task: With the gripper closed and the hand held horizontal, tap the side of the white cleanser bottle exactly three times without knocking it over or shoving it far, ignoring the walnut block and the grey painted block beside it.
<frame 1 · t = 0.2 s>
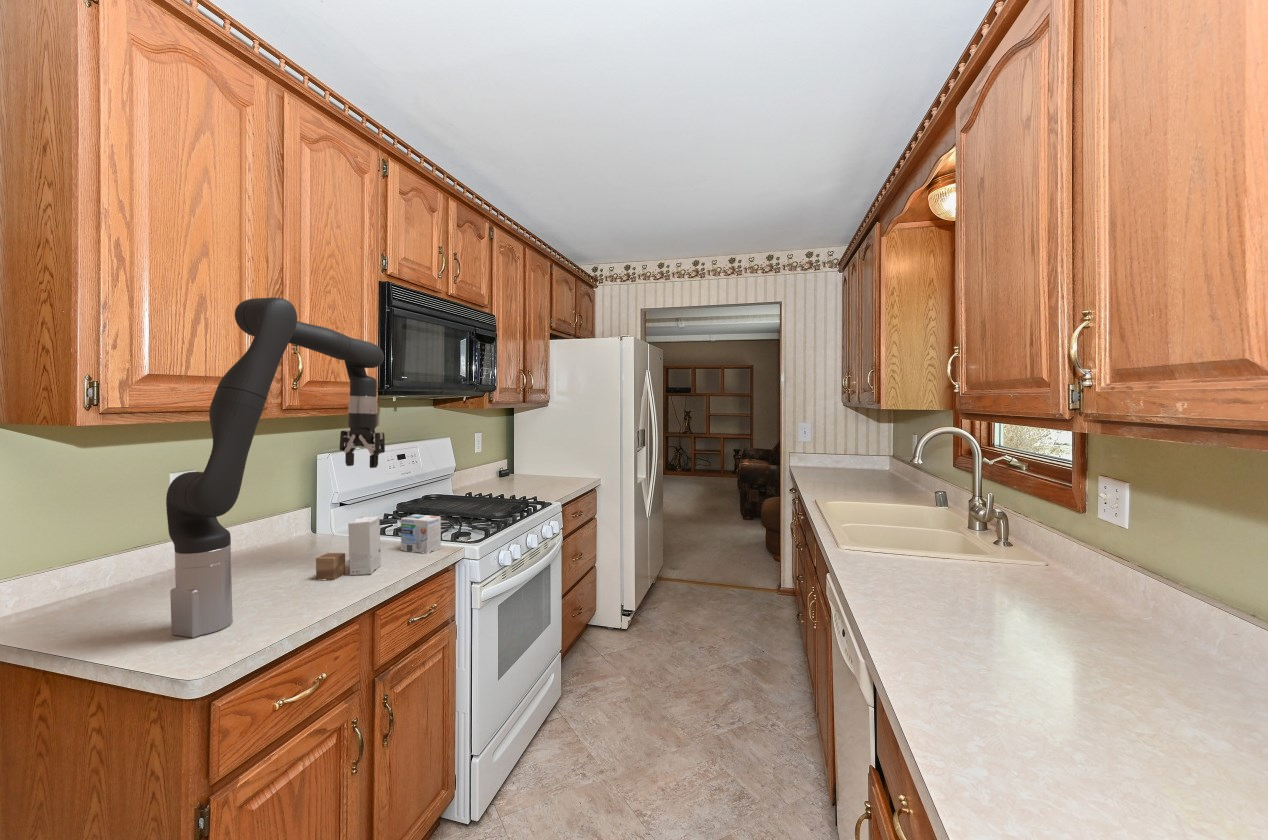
hand: (361, 466, 154), 29 cm above the counter, tool pointing down, fingers open, 8 cm apart
skincare box: (365, 571, 149), on the counter
grey painted block: (364, 561, 157), on the counter
light bulb box: (421, 550, 170), on the counter
walnut block: (331, 577, 143), on the counter
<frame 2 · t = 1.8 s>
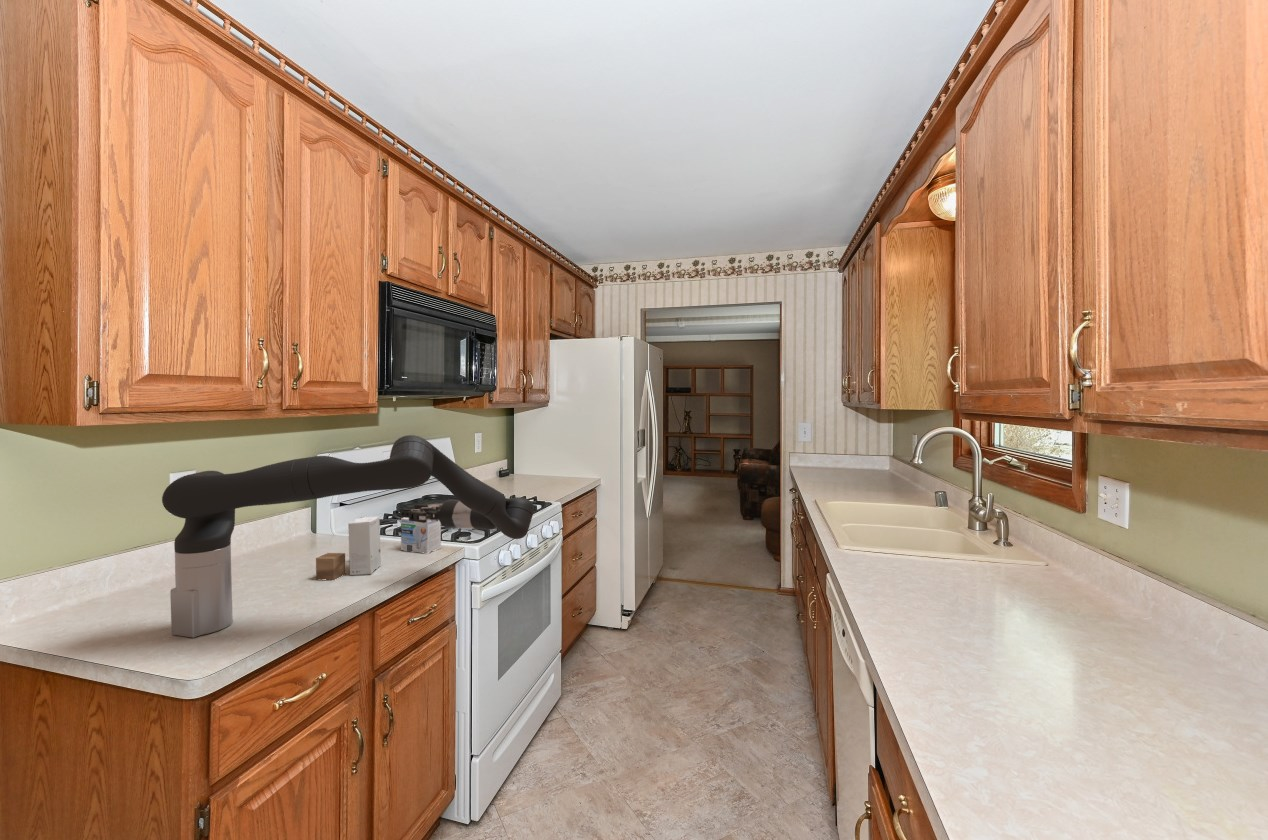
hand: (408, 510, 145), 18 cm above the counter, tool horizontal, fingers open, 5 cm apart
nothing on the counter moved.
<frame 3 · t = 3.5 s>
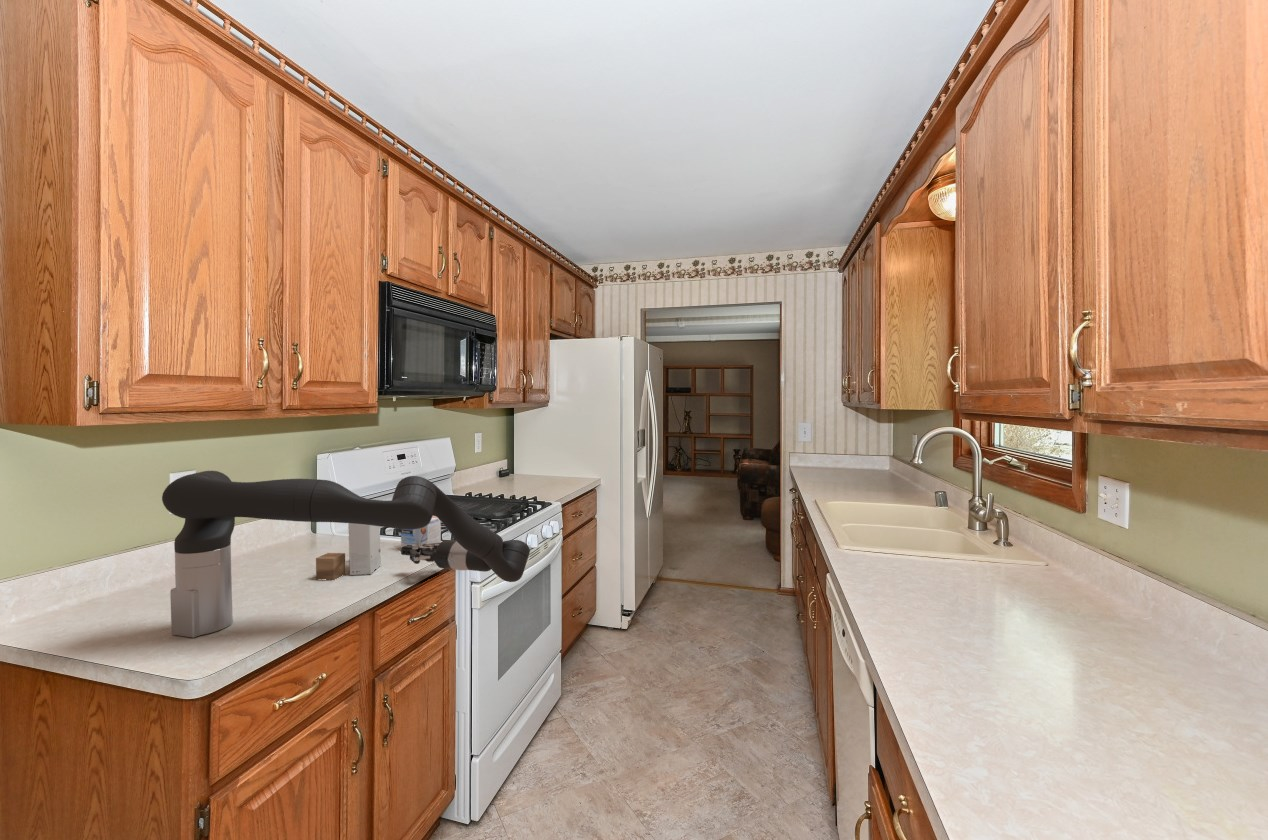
hand: (402, 550, 145), 7 cm above the counter, tool horizontal, fingers closed
nothing on the counter moved.
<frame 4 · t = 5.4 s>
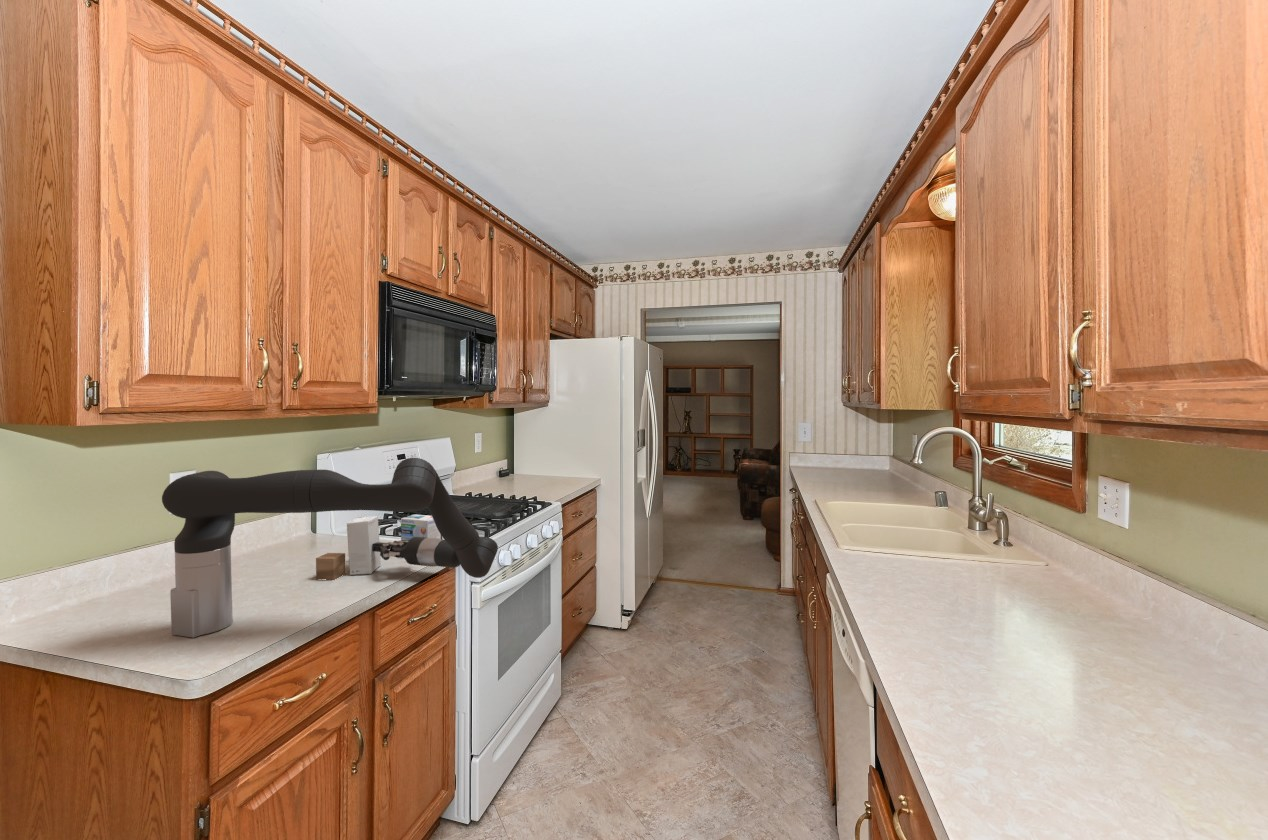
hand: (374, 546, 148), 7 cm above the counter, tool horizontal, fingers closed
skincare box: (365, 570, 149), on the counter, touching gripper
everything else where it was.
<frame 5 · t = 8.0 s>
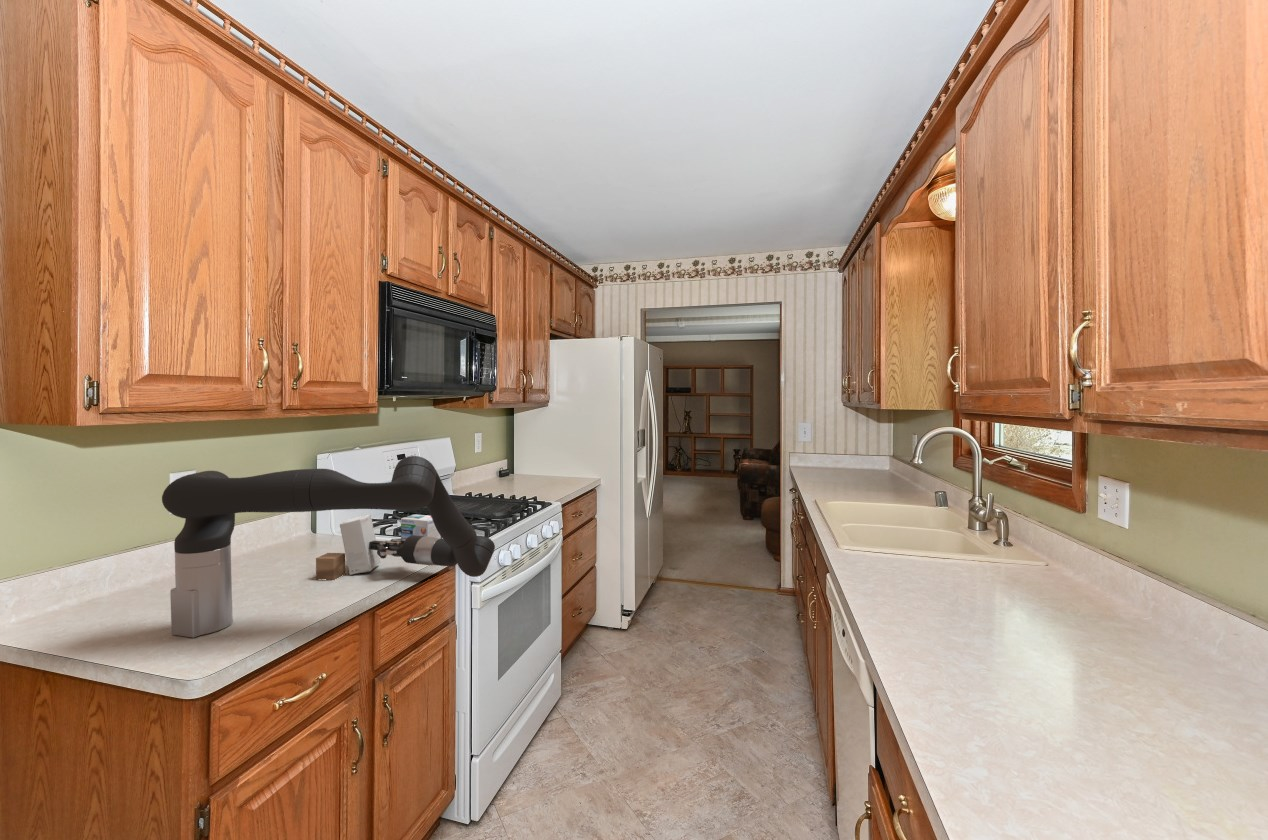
hand: (371, 544, 148), 8 cm above the counter, tool horizontal, fingers closed
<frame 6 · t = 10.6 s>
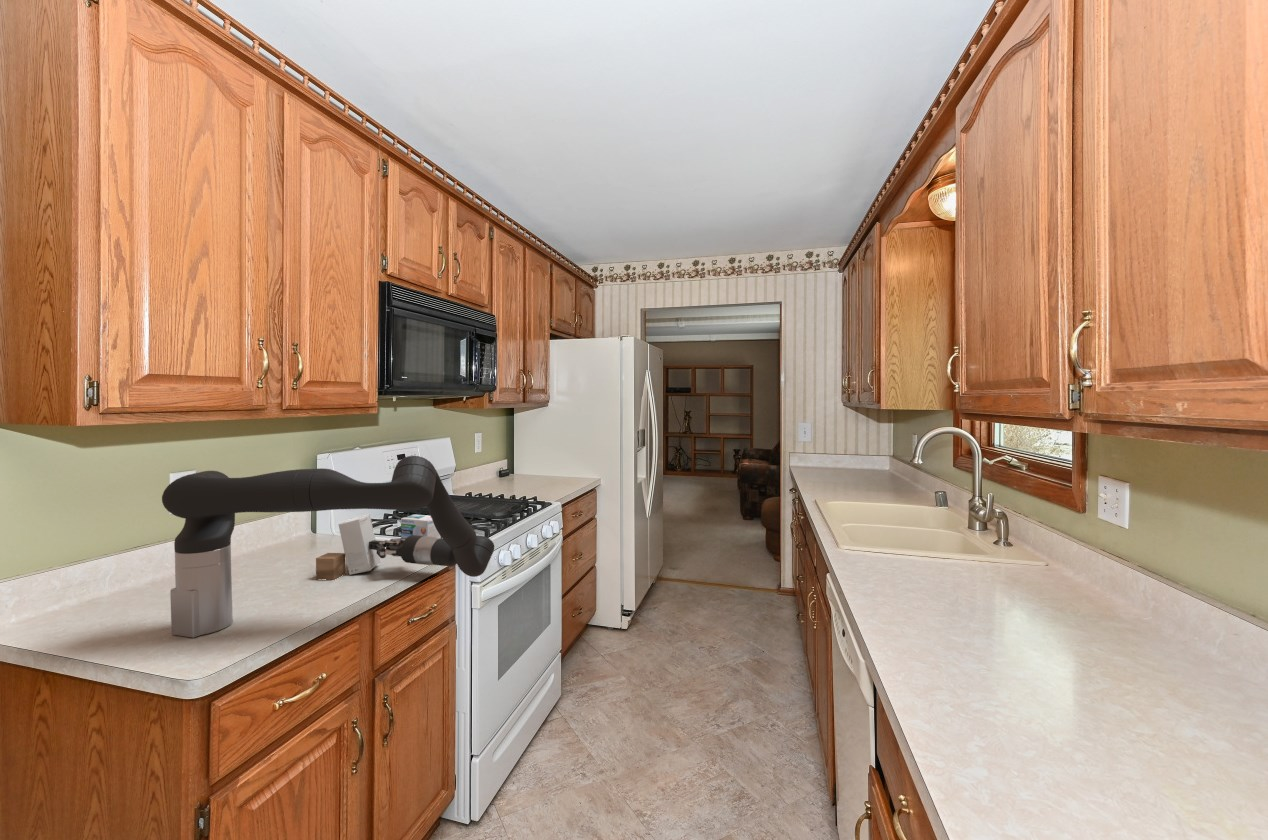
hand: (370, 544, 148), 8 cm above the counter, tool horizontal, fingers closed
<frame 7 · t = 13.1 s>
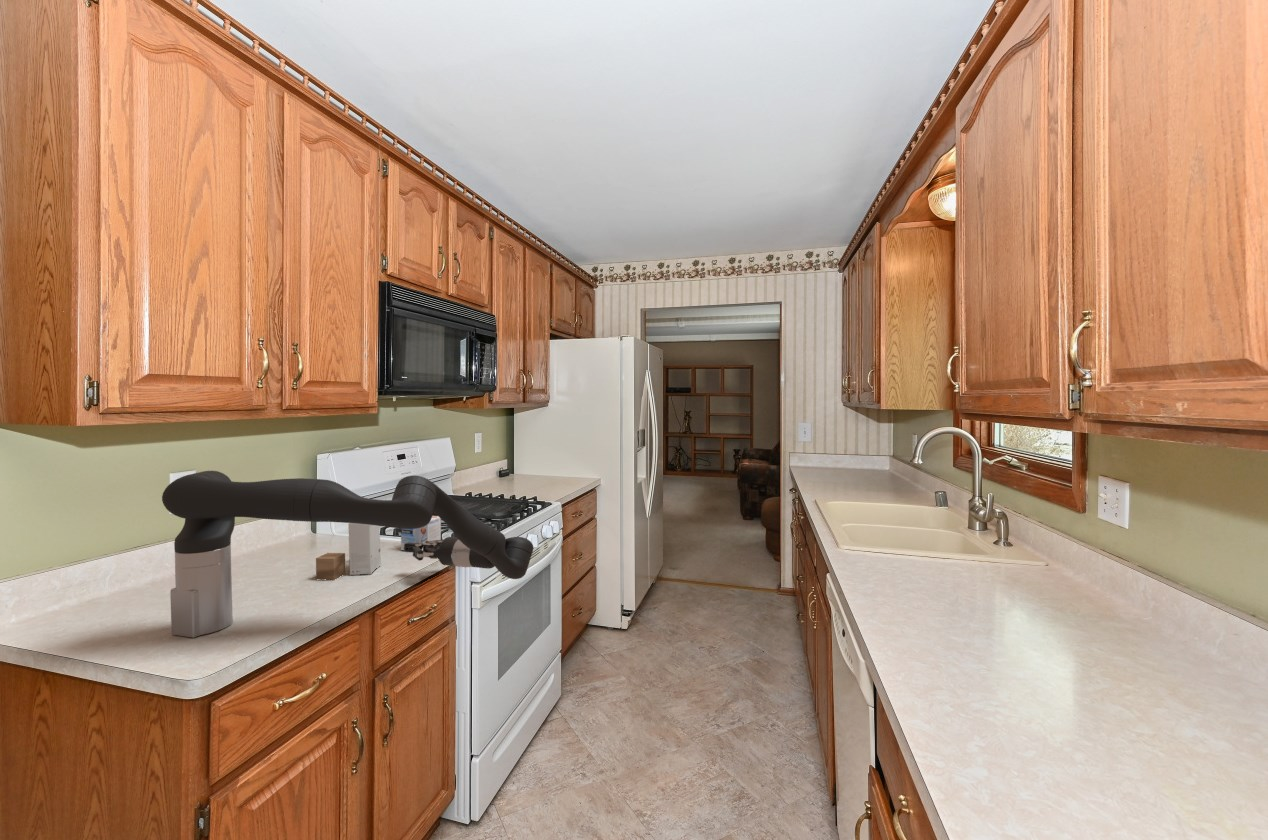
hand: (405, 546, 145), 8 cm above the counter, tool horizontal, fingers closed
skincare box: (365, 571, 149), on the counter
everything else where it was.
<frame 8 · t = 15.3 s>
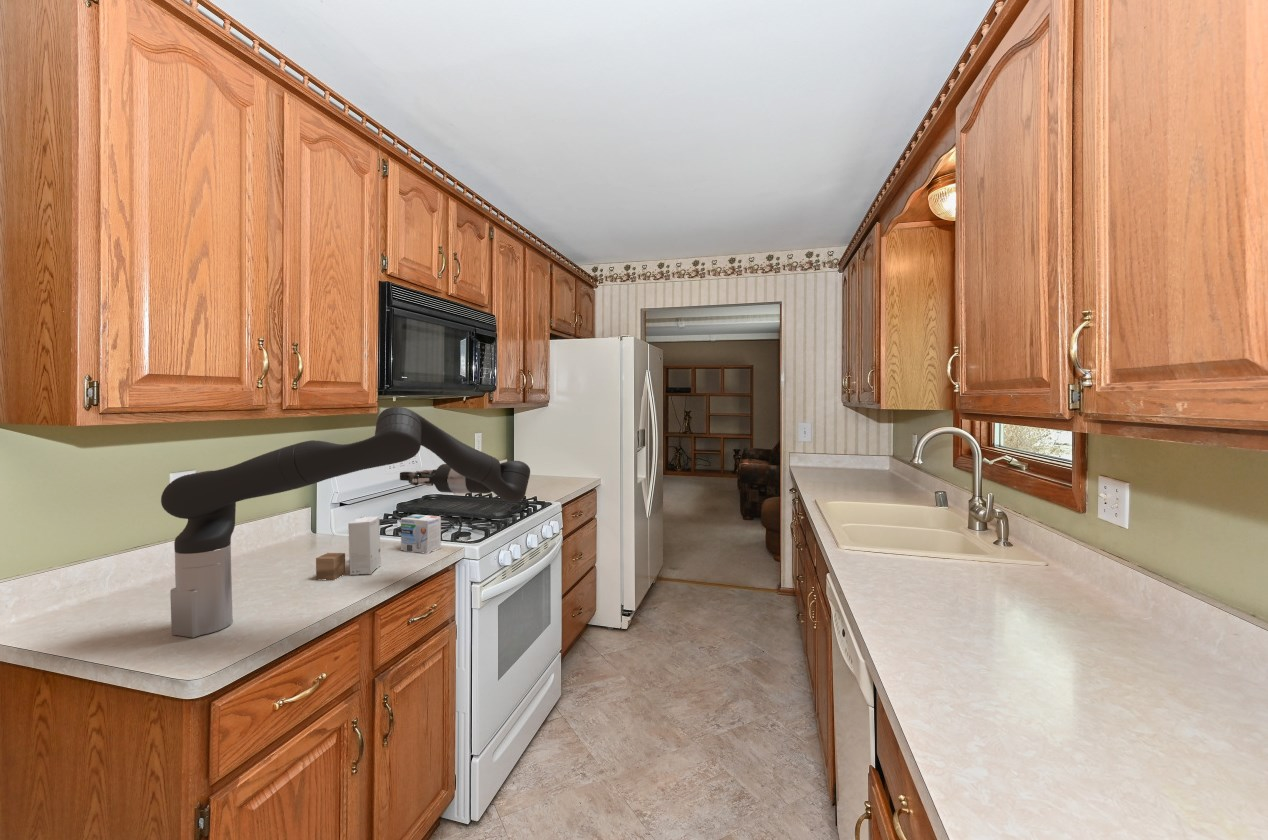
hand: (401, 475, 142), 28 cm above the counter, tool horizontal, fingers closed
nothing on the counter moved.
at the end: skincare box moved 0.3 cm from its start; skincare box tilted 0°; skincare box touching counter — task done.
